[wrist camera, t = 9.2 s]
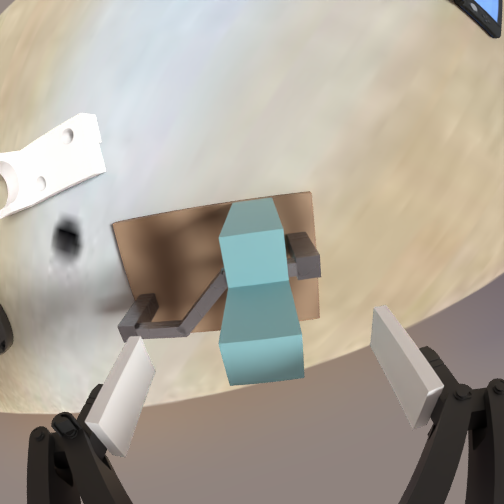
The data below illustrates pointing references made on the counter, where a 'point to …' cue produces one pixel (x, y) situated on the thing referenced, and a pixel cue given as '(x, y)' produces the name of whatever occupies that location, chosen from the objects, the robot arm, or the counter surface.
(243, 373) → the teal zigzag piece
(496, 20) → the handheld game console
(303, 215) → the base board
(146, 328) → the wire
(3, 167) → the bracket
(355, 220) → the counter surface
